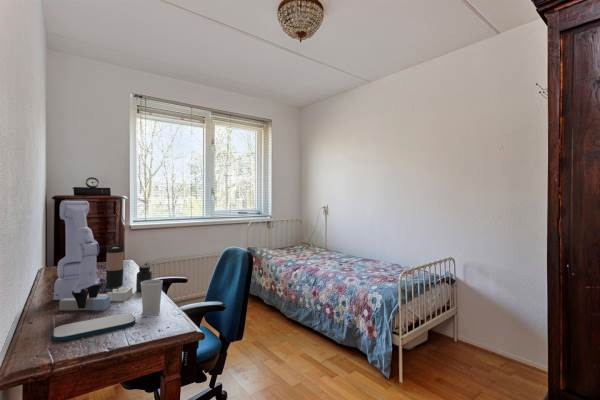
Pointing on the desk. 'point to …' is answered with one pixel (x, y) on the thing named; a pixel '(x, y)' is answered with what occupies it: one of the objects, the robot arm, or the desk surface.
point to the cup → (151, 296)
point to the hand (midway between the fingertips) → (87, 304)
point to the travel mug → (114, 266)
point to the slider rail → (118, 294)
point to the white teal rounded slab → (92, 327)
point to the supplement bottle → (143, 276)
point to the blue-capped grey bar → (91, 303)
